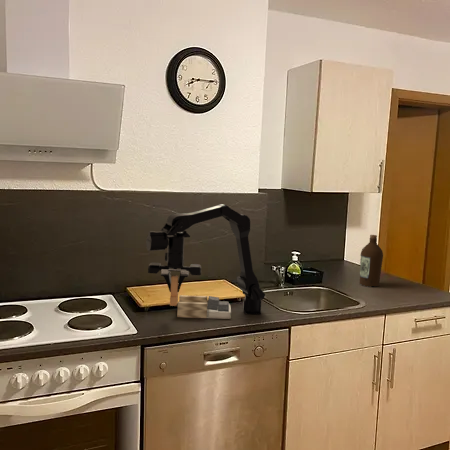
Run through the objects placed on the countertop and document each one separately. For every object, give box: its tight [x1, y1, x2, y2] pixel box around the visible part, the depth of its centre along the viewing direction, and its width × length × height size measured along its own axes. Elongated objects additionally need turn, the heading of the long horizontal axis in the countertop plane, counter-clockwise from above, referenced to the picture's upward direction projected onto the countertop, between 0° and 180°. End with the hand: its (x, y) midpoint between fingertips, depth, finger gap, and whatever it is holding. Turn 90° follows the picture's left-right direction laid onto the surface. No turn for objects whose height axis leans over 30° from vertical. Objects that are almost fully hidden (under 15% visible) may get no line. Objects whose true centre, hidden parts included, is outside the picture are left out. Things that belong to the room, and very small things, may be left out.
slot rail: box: [176, 294, 209, 319], centre depth 184 cm, size 11×10×6 cm
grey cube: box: [207, 295, 220, 311], centre depth 184 cm, size 4×4×4 cm
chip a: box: [218, 300, 230, 312], centre depth 184 cm, size 4×4×4 cm
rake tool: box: [169, 274, 179, 307], centre depth 173 cm, size 2×6×10 cm, turn 1°
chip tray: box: [206, 302, 232, 320], centre depth 185 cm, size 9×10×2 cm
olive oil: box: [359, 234, 384, 287], centre depth 236 cm, size 11×11×25 cm
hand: (174, 292), depth 173 cm, fingers closed on rake tool, 2 cm apart
